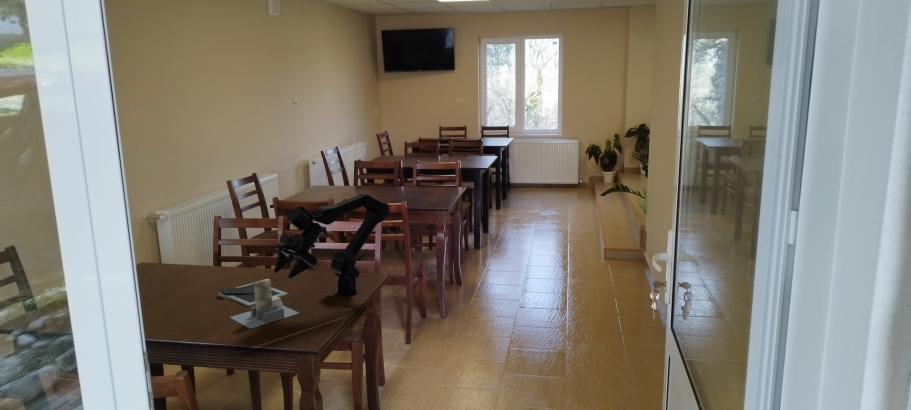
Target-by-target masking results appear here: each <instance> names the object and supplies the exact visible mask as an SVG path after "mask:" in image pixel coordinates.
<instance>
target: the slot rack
mask: <svg viewBox="0 0 911 410" xmlns="http://www.w3.org/2000/svg"><path fill="white" fill-rule="evenodd" d="M298 314H299V312H298V311H297V310H295V309H292V308H290V307H287V306H285V305H283V306H282V307H278V306H277V305H274V306H270V307H267V308H263V309H260V310H257V316H256V305H253V306H250V311H247V312H242V313H239V314H235V315H233V316H229V318H230V319H232V320H233V321H236V322H237V323H239V324H241V325H242V326H244V327H246V328H248V329H254V328H256V327H259V326H263V325H266V324H268V323H269V324H270V323H272V322H275V321H279V320H281V319H286V318H288V317H292V316H295V315H298Z"/></svg>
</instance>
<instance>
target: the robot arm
mask: <svg viewBox="0 0 911 410" xmlns="http://www.w3.org/2000/svg"><path fill="white" fill-rule="evenodd" d="M362 207H363V208H364V209H366V210H365V214H364V216H365V217H364V219H363V221H362V223H361V224H360V225H359V227H358V229H357V230H356V232H355V234H354V235H353V237H352V238H351V240H350V241H349V242H348V244H347V246H346V247H345V249H344V250H342V251H340V250H337V251H336V252H335V254H334V256H333V257H332V258H331V262H330V269H331V271H332V272H333V273H334V275H335V276H337V280H336V290H337V293H338V295H339V296H346V295H356V294H358V292H357V291H358V290H357V279H358V278H359V276H360V271H359V270H358V269H357V268H356V263H357V256H358V254H359V253H360V252H361V249H362V248H363V247H364V245H365V244H366V242H367V240H368V239H369V237H370V235H371V234H372V232H373V231H374V229H375V227H376V226H378V224H380V223H382V222H383V221H384V220H385V219H386V218H387V217H388V216H389V214H390V211H391V210H390V206H389V204H388V203H387V202H383V201H380V200H378V199H376V198H374V197H372V196H371V195H369V194H366V193H359V194H357V195H355V196H353V197H350V198H347V199H345V200H343V201H340V202H338V203H335V204H330V205H322V206H317V207H315V208H314V209H313V210H312V211H307V210H306V208H305V207H304V206H302V205H298V207H296V208H294V209H292V211H289V213H288V214H287V217H286V220H287V221H288V222H289V224H291V225H292V226H294V227H295V228H296V229H297V230H298V231H301V233H300V234H292V235H287V234H285V233H281V234H280V238H279V241H278V243H277V244H276V246H275V248H274V249H275V251H276V254H277V259H276V264H275V266H274V268H273V269H274V270H273V272H274V273H275V274H277V273H278V272H280V271H281V270H282V269H283V268H284V267H285V266H286V265H287V264H289V263H291V261H292V258H294V257H295V264H294V265H293V267H292V268H291V270H290V272H289V274H288V276H287V278H288V279H290V280H291V279H293V278H295V276H298V275H299V274H301V273H302V272H305V271H306V270H308V269H311V268H315V267H316V265H317V264H318V258H316V257H315V256H314V255H313V254H312V253H311V252H310V250H311V248H312V249H315V247H316V245H315V243H316V242H317V240H318V239H319V237H320V236H321V235H325V236H327V235H328V231H327V227H326V226H328V225H329V226H330V225H332V224H333V223H335V222H336V221H338V219H339V218H340V217H341V216H342V215H344V214H348V213H350V212H352V211H355V210H358V209H360V208H362ZM321 224H322V225H321ZM323 225H325V226H323Z"/></svg>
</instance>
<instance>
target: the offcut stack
mask: <svg viewBox="0 0 911 410" xmlns="http://www.w3.org/2000/svg"><path fill="white" fill-rule="evenodd" d="M274 305H277V306H278V307H282V306H284V304H283V301H282V298H281V297H276V296H272V306H274Z"/></svg>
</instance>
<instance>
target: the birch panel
mask: <svg viewBox="0 0 911 410" xmlns="http://www.w3.org/2000/svg"><path fill="white" fill-rule="evenodd" d="M271 282H272V279H269V278H265V279H261V280H256V281H254V282H253V283H254V292H255V305H254V306H256V316H257V310H260V309H263V308H267V307H270V306H272V293H271V287H272V283H271Z"/></svg>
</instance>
